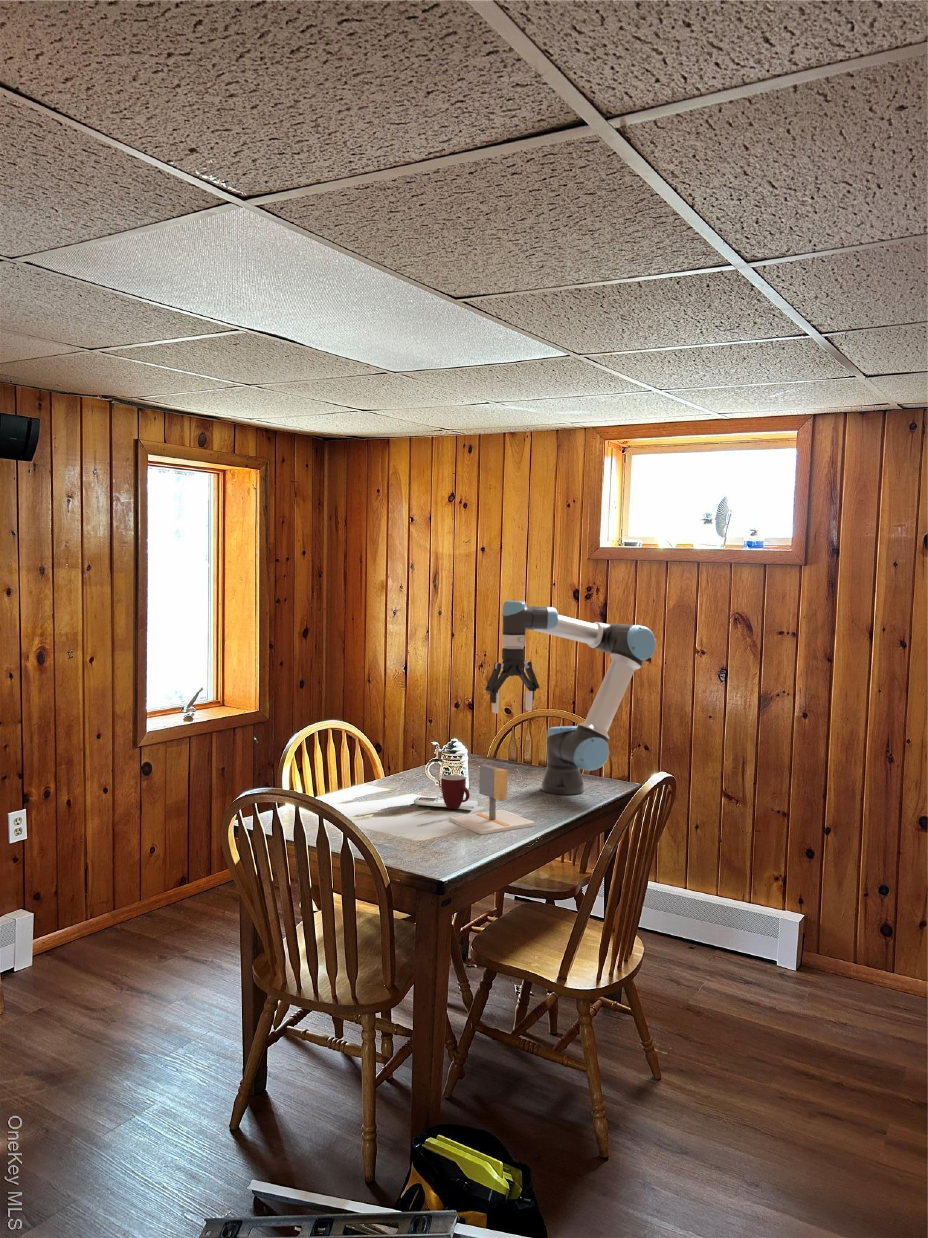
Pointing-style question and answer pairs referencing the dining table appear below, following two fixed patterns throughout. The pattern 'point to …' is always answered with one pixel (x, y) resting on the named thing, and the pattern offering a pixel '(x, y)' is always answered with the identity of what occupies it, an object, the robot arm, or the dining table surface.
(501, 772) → the grey slab
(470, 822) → the post base
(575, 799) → the dining table surface
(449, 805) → the mug
